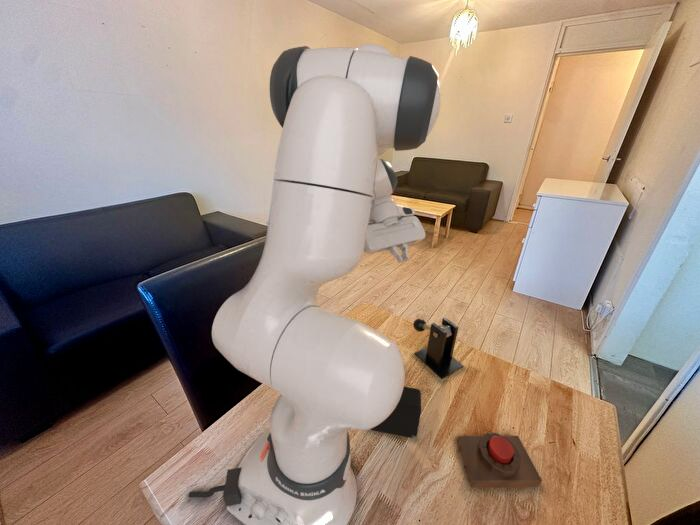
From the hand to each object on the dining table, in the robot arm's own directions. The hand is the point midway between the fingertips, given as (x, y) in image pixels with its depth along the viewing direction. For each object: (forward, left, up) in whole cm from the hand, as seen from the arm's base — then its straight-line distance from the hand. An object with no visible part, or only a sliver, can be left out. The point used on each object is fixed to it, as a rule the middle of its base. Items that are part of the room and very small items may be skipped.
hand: (403, 261), depth 80 cm
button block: (+24, -35, -23) cm, 48 cm away
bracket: (+13, -12, -23) cm, 29 cm away
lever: (+10, -10, -16) cm, 21 cm away
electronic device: (+4, -33, -23) cm, 41 cm away
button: (+24, -35, -20) cm, 47 cm away
